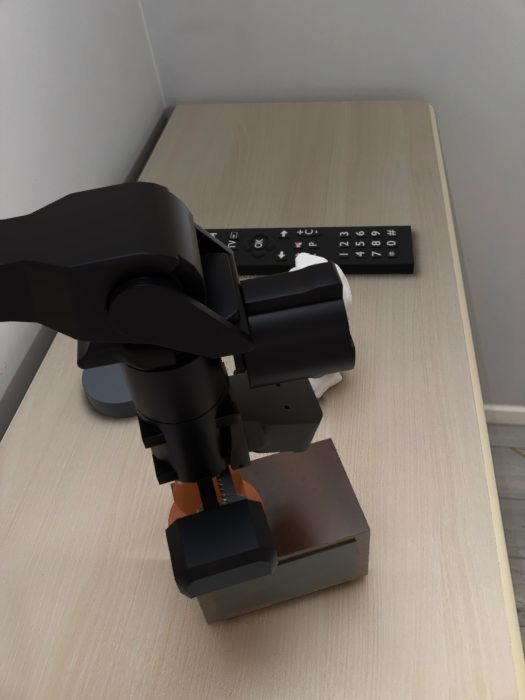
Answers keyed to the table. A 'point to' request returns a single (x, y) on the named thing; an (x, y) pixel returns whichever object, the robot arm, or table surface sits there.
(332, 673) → the table surface
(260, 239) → the remote control
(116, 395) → the stand
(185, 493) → the orange top hat
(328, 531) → the brown lidded box
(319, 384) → the figurine
